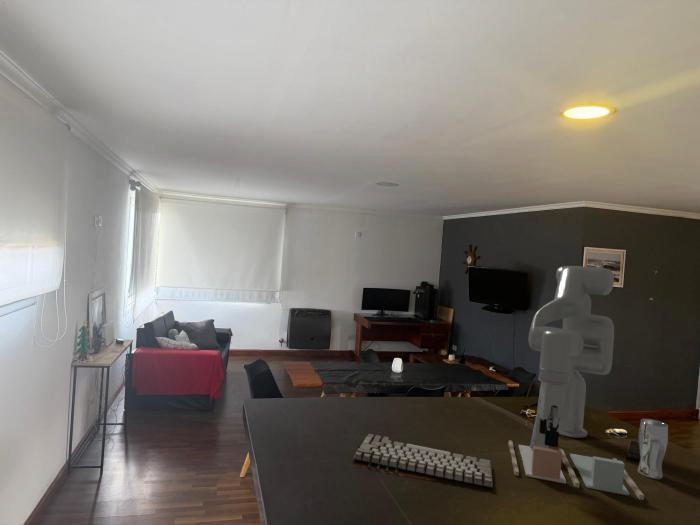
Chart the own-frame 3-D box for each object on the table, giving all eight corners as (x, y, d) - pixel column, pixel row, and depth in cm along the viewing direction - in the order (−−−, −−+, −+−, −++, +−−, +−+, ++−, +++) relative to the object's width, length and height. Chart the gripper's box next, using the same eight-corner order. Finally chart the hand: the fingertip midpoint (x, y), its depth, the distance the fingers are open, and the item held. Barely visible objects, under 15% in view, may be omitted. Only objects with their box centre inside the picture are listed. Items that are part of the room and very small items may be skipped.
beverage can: (548, 457, 138) (558, 406, 139) (529, 451, 139) (540, 401, 141) (546, 453, 142) (556, 404, 144) (528, 447, 144) (538, 399, 145)
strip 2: (569, 455, 143) (572, 430, 143) (605, 461, 141) (607, 436, 141) (586, 487, 122) (589, 458, 122) (629, 495, 120) (631, 466, 119)
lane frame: (508, 443, 149) (508, 439, 149) (615, 462, 141) (616, 458, 141) (514, 475, 126) (515, 471, 126) (643, 500, 118) (644, 495, 118)
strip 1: (518, 446, 147) (520, 422, 147) (552, 452, 145) (554, 428, 145) (526, 476, 126) (528, 448, 126) (566, 483, 123) (568, 455, 123)
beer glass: (630, 468, 137) (634, 417, 137) (652, 469, 138) (656, 419, 138) (647, 479, 130) (651, 426, 130) (670, 480, 131) (675, 427, 131)
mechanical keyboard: (491, 465, 133) (492, 453, 133) (495, 497, 114) (496, 483, 114) (363, 442, 142) (363, 431, 142) (347, 468, 124) (348, 455, 124)
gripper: (534, 368, 135) (529, 427, 135) (543, 381, 118) (537, 448, 118) (562, 372, 133) (557, 432, 133) (575, 385, 117) (569, 454, 116)
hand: (548, 439), depth 126 cm, fingers open, 9 cm apart
